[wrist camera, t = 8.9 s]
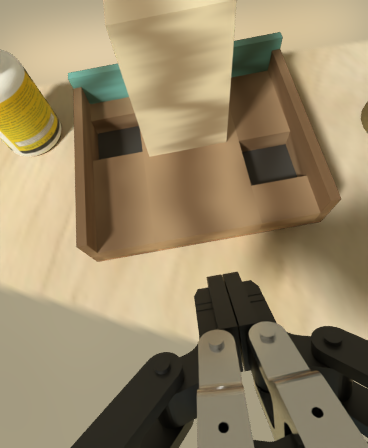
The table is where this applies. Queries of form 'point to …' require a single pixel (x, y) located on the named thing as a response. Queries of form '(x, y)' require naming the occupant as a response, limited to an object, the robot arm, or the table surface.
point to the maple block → (175, 68)
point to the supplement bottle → (24, 111)
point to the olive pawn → (365, 117)
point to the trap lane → (197, 164)
